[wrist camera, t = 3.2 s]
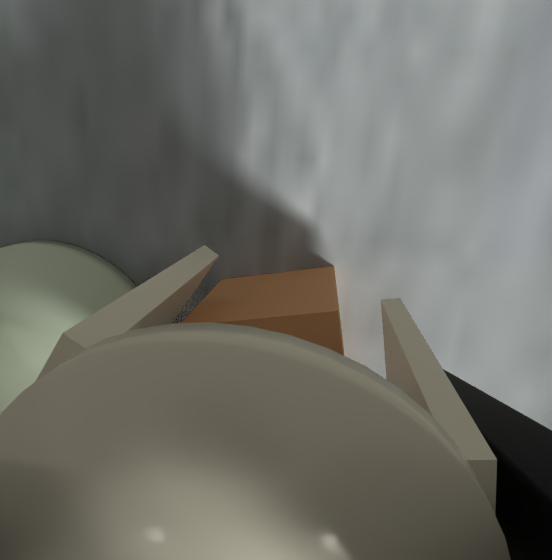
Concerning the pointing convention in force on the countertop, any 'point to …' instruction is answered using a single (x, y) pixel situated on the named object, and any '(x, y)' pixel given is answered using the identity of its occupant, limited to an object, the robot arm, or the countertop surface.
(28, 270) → the dish
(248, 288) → the block
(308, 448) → the cover
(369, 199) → the countertop surface
